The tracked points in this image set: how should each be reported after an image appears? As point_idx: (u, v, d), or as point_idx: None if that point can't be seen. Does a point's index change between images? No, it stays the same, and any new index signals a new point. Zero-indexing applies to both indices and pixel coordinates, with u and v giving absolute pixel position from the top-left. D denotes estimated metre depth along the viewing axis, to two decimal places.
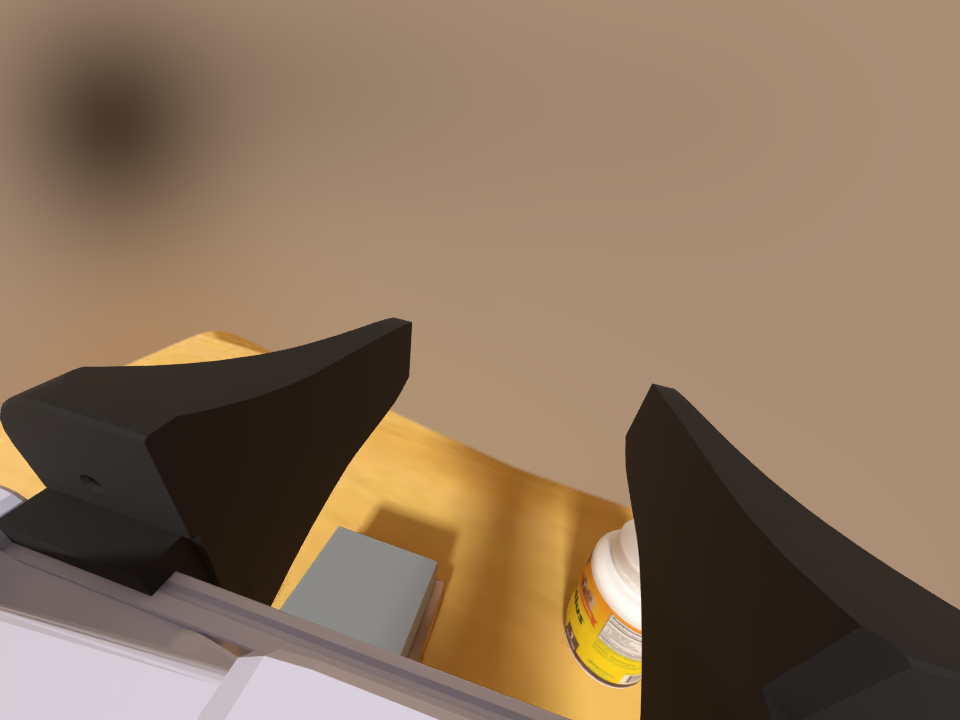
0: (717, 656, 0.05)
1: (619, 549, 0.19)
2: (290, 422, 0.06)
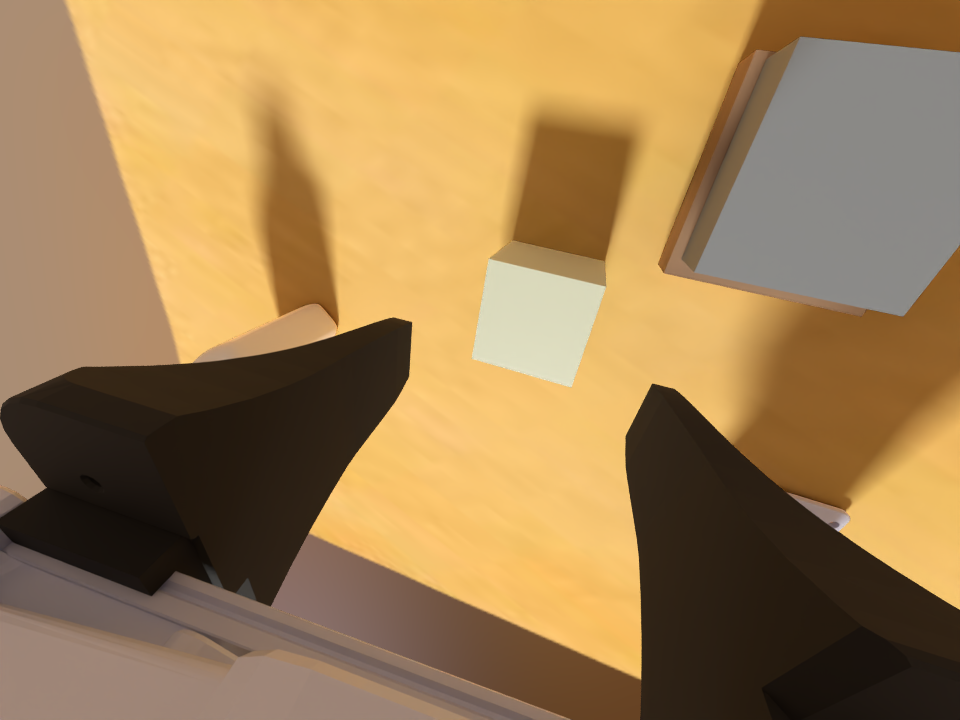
0: (717, 656, 0.05)
1: None
2: (290, 422, 0.06)
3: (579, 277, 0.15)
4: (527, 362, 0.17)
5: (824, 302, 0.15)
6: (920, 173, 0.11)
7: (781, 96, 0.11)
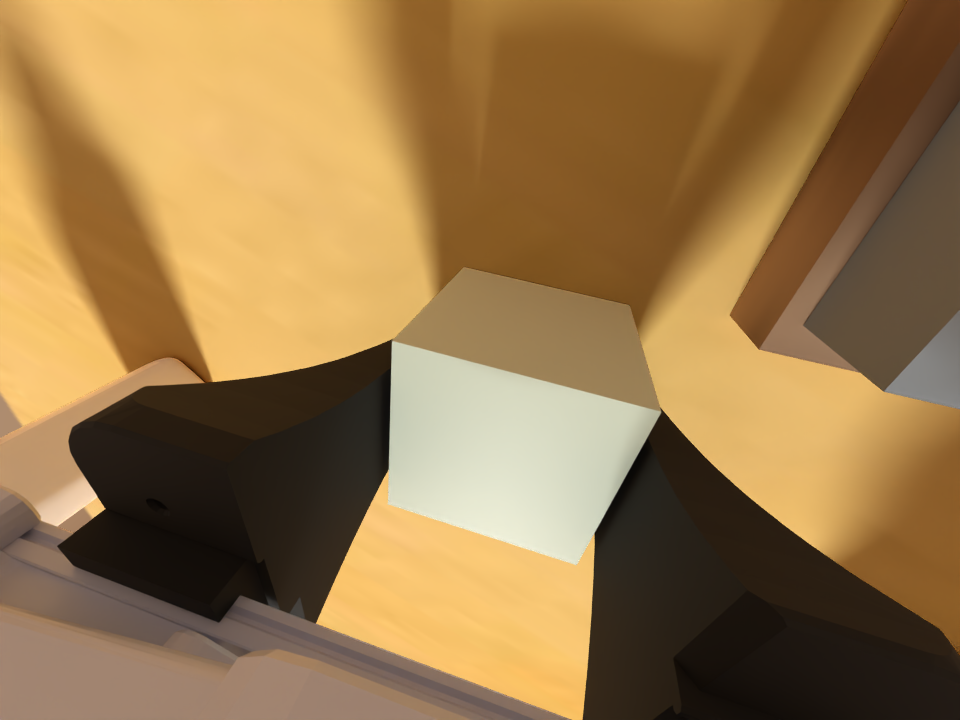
0: (644, 631, 0.05)
1: None
2: (342, 438, 0.06)
3: (595, 380, 0.07)
4: (491, 520, 0.09)
5: None
6: None
7: None
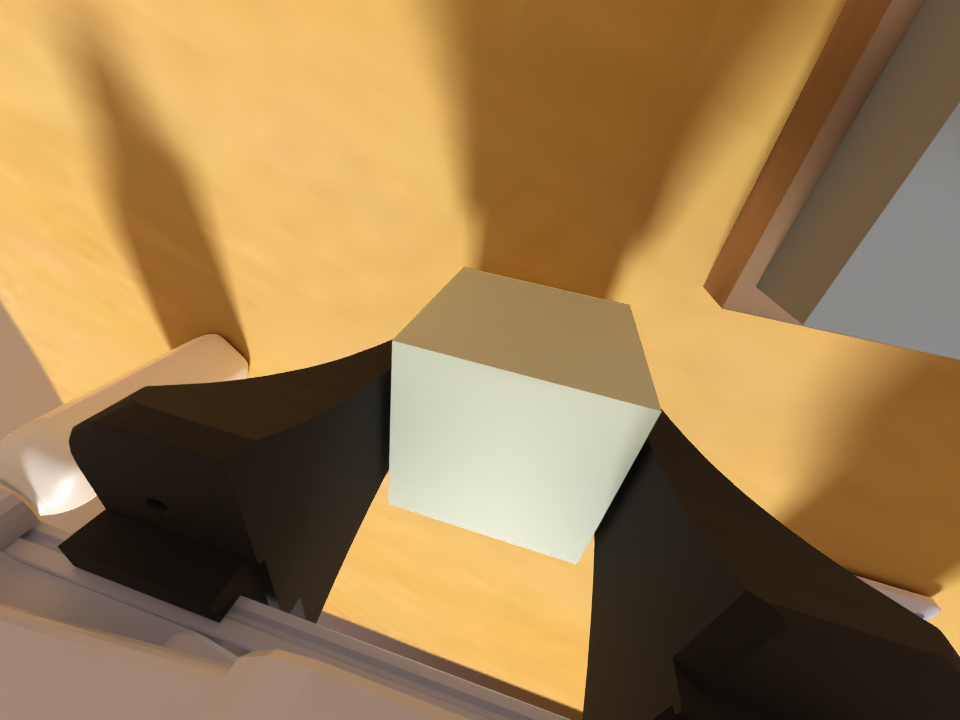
0: (643, 631, 0.05)
1: None
2: (343, 437, 0.06)
3: (595, 379, 0.07)
4: (491, 520, 0.09)
5: None
6: None
7: None
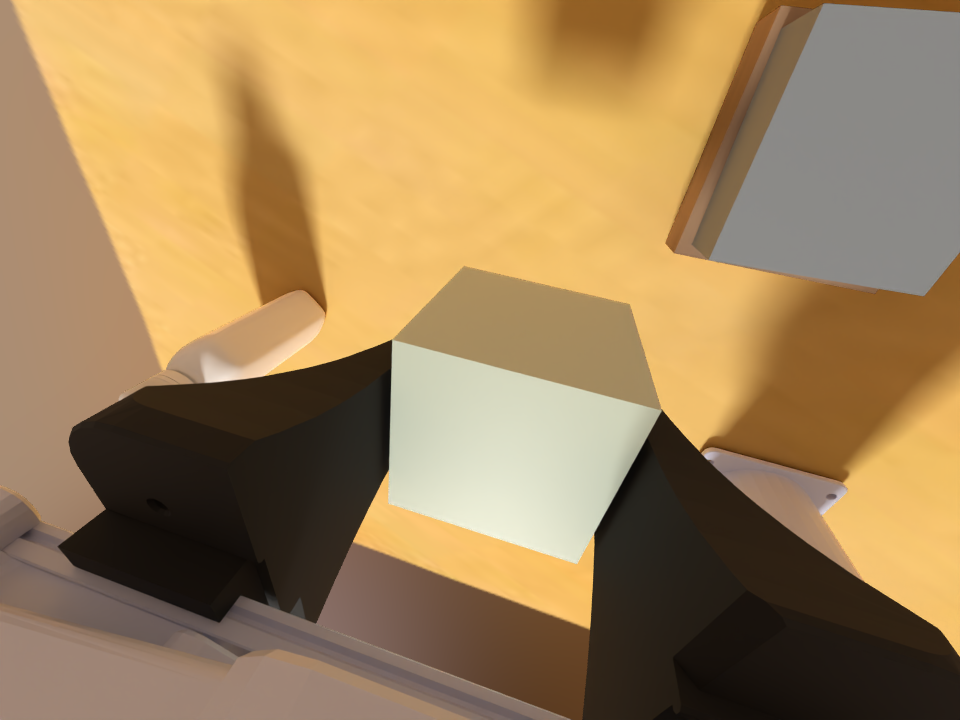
0: (643, 631, 0.05)
1: None
2: (343, 437, 0.06)
3: (595, 379, 0.07)
4: (491, 520, 0.09)
5: None
6: (947, 147, 0.11)
7: (802, 70, 0.10)
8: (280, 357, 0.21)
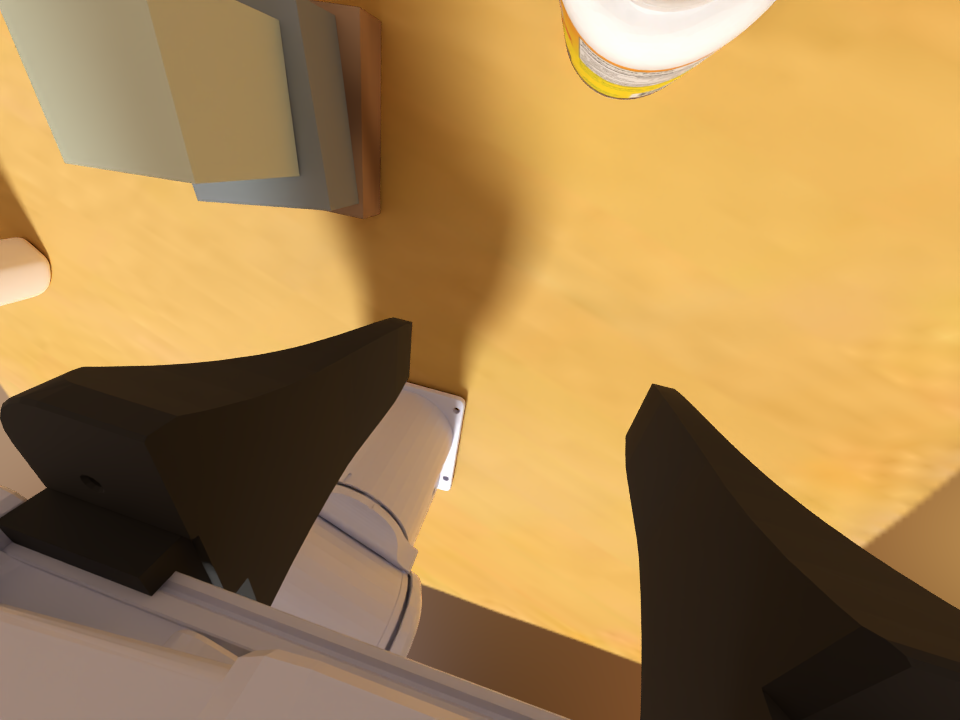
0: (717, 656, 0.05)
1: None
2: (289, 422, 0.06)
3: None
4: (125, 150, 0.11)
5: None
6: None
7: None
8: None
